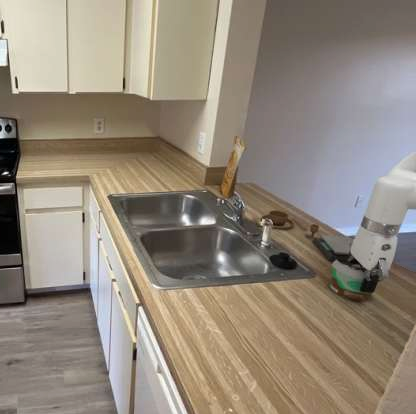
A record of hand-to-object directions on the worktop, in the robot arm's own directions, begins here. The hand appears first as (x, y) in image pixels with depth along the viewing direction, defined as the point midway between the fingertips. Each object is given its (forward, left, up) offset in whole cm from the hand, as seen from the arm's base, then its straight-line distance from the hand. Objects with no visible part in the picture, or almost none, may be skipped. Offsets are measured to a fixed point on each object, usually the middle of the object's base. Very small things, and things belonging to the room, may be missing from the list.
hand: (358, 282), depth 91 cm
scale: (-7, -25, -5) cm, 26 cm away
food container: (0, 0, -5) cm, 5 cm away
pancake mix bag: (+20, -80, -5) cm, 83 cm away
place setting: (+6, -42, -5) cm, 43 cm away
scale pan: (-8, -25, -2) cm, 26 cm away
